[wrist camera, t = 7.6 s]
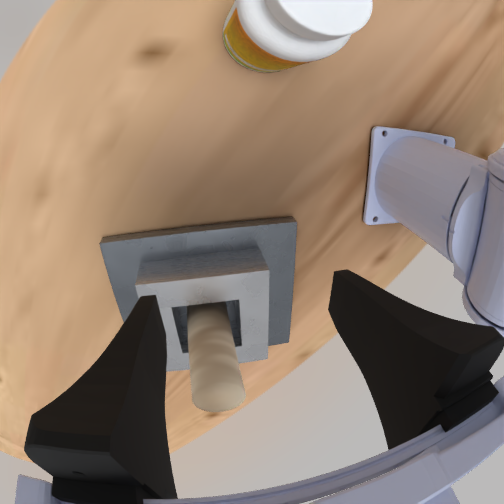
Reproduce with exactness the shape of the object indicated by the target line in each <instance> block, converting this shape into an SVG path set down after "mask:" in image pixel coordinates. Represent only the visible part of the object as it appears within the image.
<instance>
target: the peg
mask: <svg viewBox="0 0 504 504" xmlns="http://www.w3.org/2000/svg"><path fill="white" fill-rule="evenodd" d="M187 328H188V348H189V364H190V378H191V391H192V401H193V404H194V405H195V406H196V407H197V408H199V409H201V410H204V411H209V412H223V411H228V410H231V409H233V408H236V407H237V406H239V405H240V404H242V403H243V401H244V400H245V397H246V394H245V389H244V385H243V381H242V376H241V372H240V367H239V363H238V358H237V354H236V349H235V345H234V340H233V335H232V330H231V326H230V321H229V316H228V311H227V306H226V301H222V302H214V303H205V304H197V305H188V306H187Z"/></svg>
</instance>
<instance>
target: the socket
mask: <svg viewBox="0 0 504 504" xmlns="http://www.w3.org/2000/svg"><path fill="white" fill-rule="evenodd" d="M296 233H297V221H296V220H295V219H294V218H293V217H283V218H271V219H260V220H250V221H239V222H229V223H219V224H210V225H200V226H191V227H182V228H173V229H165V230H156V231H148V232H140V233H132V234H124V235H117V236H109V237H103V238H102V240H101V242H100V247H101V251H102V255H103V259H104V262H105V266H106V269H107V272H108V276H109V279H110V282H111V286H112V289H113V292H114V295H115V298H116V301H117V304H118V307H119V310H120V313H121V316H122V319H123V321H124V322H125V321H126V319H127V317H128V316H129V314H130V313H131V311H132V309H133V308H134V306H135V304H136V303H137V301H138V299H139V298H140V297H141V296H148V295H156V297H157V301H158V305H159V309H160V313H161V317H162V320H163V324H164V328H165V331H166V342H167V367H166V372H167V371H179V370H189V369H190V364H189V348H188V328H187V306H188V305H197V304H205V303H214V302H222V301H226V306H227V311H228V316H229V321H230V326H231V330H232V335H233V340H234V345H235V349H236V354H237V358H238V363H245V362H252V361H258V360H264V359H268V346H271V345H277V344H282V343H288V342H289V335H290V324H291V311H292V298H293V284H294V269H295V252H296Z"/></svg>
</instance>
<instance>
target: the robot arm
mask: <svg viewBox="0 0 504 504" xmlns="http://www.w3.org/2000/svg"><path fill="white" fill-rule="evenodd" d="M383 131H384V132H385V134H384V136H383V135H382V132H383ZM375 216H376V217H375ZM374 217H375V219H374V220H373V218H374ZM363 221H364V223H366V224H367V225H376V224H388V223H401V224H402V225H404V226H405V227H407V228H408V229H409V230H411V231H412V232H413V233H415V234H416V235H417V236H419V237H420V238H421V239H423V240H424V241H425V242H427V243H428V244H429V245H431V246H432V247H433V248H434V249H436V250H437V251H438V252H439V253H441V254H442V255H443V256H445V257H446V258H447V259H448V260H449V261H451V262H452V263H453V264H454V277H455V278H456V279H458V280H459V281H460V282H461V283H462V284H463V285H464V289H463V295H462V299H463V304H464V307H465V309H466V311H467V313H468V315H469V316H470V317H471V319H472V320H473V321H474V322H475V323H476V324H471V323H467V322H462V321H458V320H454V319H450V318H447V317H444V316H441V315H438V314H435V313H432V312H429V311H427V310H424V309H422V308H419V307H417V306H414V305H412V304H410V303H408V302H406V301H404V300H402V299H400V298H398V297H396V296H394V295H392V294H391V293H389V292H387V291H385V290H383V289H382V288H380V287H378V286H376V285H375V284H373V283H371V282H369V281H368V280H366V279H364V278H363V277H361V276H359V275H357V274H355V273H353V272H351V271H349V270H340V271H334V276H333V283H332V290H331V296H330V302H329V308H328V310H329V313H330V315H331V318H332V320H333V322H334V325H335V327H336V329H337V331H338V333H339V334H340V336H341V338H342V339H343V341H344V343H345V344H346V346H347V348H348V349H349V351H350V353H351V354H352V356H353V358H354V359H355V361H356V363H357V364H358V366H359V368H360V370H361V372H362V374H363V376H364V378H365V380H366V383H367V385H368V387H369V390H370V392H371V395H372V397H373V400H374V402H375V405H376V408H377V410H378V414H379V417H380V420H381V423H382V426H383V429H384V433H385V437H386V441H387V445H388V449H389V450H388V451H386V452H383V453H381V454H379V455H376V456H374V457H371V458H369V459H367V460H364V461H361V462H359V463H356V464H353V465H350V466H348V467H345V468H342V469H339V470H336V471H333V472H330V473H326V474H323V475H320V476H316V477H313V478H309V479H306V480H302V481H298V482H294V483H290V484H286V485H281V486H277V487H272V488H267V489H262V490H257V491H251V492H244V493H238V494H231V495H222V496H213V497H203V498H187V499H178V498H177V493H176V489H175V484H174V479H173V474H172V468H171V462H170V455H169V448H168V440H167V431H166V420H165V385H166V367H167V342H166V331H165V328H164V324H163V320H162V317H161V313H160V309H159V305H158V301H157V297H156V295H148V296H141V297H140V298H139V299H138V301H137V303H136V304H135V306H134V308H133V309H132V311H131V313H130V314H129V316H128V317H127V319H126V321H125V322H124V324H123V325H122V327H121V328H120V330H119V331H118V333H117V334H116V336H115V337H114V339H113V340H112V341H111V343H110V344H109V345H108V347H107V348H106V350H105V351H104V352H103V353H102V355H101V356H100V357H99V358H98V360H97V361H96V362H95V363H94V364H93V365H92V366H91V367H90V369H88V370H87V371H86V372H85V373H84V374H83V375H82V376H81V377H80V378H79V379H78V380H77V381H76V382H75V383H74V384H73V385H72V386H71V387H70V388H69V389H67V390H66V391H65V392H64V393H63V394H61V395H60V396H59V397H58V398H56V399H55V400H54V401H52V402H51V403H49V404H48V405H46V406H45V407H43V408H42V409H40V410H39V411H37V412H36V413H34V414H33V415H32V416H31V420H30V423H29V427H28V432H27V436H26V441H25V446H24V451H25V452H26V454H27V456H28V457H29V458H30V459H31V460H32V461H33V462H34V463H36V464H37V465H38V466H40V467H41V468H42V469H44V470H45V471H47V472H48V473H49V474H51V475H52V476H53V483H49V482H47V481H44V480H41V479H36V478H32V477H28V476H25V475H21V474H20V475H18V481H17V490H16V498H15V504H299V503H303V502H307V501H311V500H314V499H317V498H321V497H324V496H327V495H330V496H327V497H324V498H321V499H319V500H317V501H314V502H312V503H310V504H460V503H459V501H458V499H457V497H456V495H455V493H454V491H453V490H452V488H451V485H452V484H454V483H455V482H456V481H458V480H459V479H461V478H462V477H463V476H465V475H466V474H467V473H469V472H470V471H472V470H473V469H474V468H475V467H477V466H478V465H479V464H481V463H482V462H483V461H484V460H485V459H487V458H488V457H489V456H490V455H491V454H493V453H494V452H495V451H496V450H497V449H498V448H499V447H501V446H502V445H503V444H504V376H503V377H502V378H500V379H499V380H498V381H497V382H496V383H495V384H494V385H493V384H492V382H491V381H490V380H491V379H492V377H493V375H492V374H491V373H490V372H489V370H490V369H491V367H492V366H493V364H494V363H495V361H496V360H497V358H498V357H499V355H500V353H501V352H502V350H503V347H504V148H501V149H498V150H497V151H496V152H494V153H493V154H490V155H489V156H488V161H487V160H484V159H482V158H479V157H477V156H474V155H471V154H469V153H466V152H463V151H460V150H458V149H455V139H454V138H453V137H449V136H444V135H438V134H432V133H426V132H420V131H413V130H406V129H398V128H390V127H381V126H375V127H374V128H373V129H372V134H371V149H370V162H369V173H368V183H367V192H366V201H365V209H364V216H363ZM396 468H397V469H396ZM394 469H395V470H394ZM387 472H388V473H387ZM385 473H386V474H385ZM383 474H384V475H383ZM378 476H379V477H378ZM376 477H377V478H376ZM371 479H372V480H371ZM369 480H370V481H369ZM366 481H367V482H366ZM364 482H365V483H364ZM361 483H362V484H361ZM359 484H360V485H359ZM356 485H357V486H356ZM353 486H354V487H353ZM351 487H352V488H351ZM348 488H349V489H348ZM345 489H346V490H345ZM342 490H343V491H342ZM340 491H341V492H340ZM337 492H338V493H337ZM333 493H335V494H333ZM331 494H333V495H331Z"/></svg>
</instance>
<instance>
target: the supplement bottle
mask: <svg viewBox="0 0 504 504" xmlns="http://www.w3.org/2000/svg"><path fill="white" fill-rule="evenodd" d="M371 12H372V0H235V1H234V3H233V5H232V7H231V10H230V12H229V14H228V16H227V18H226V21H225V24H224V27H223V40H224V44H225V47H226V49H227V51H228V52H229V54H230V55H231V57H232V58H233V59H234V60H235V61H236V62H238V63H239V64H240V65H242V66H244V67H246V68H248V69H250V70H253V71H257V72H277V71H281V70H285V69H288V68H291V67H294V66H298V65H301V64H305V63H309V62H312V61H316V60H320V59H323V58H326V57H328V56H330V55H332V54H334V53H336V52H337V51H338V50H340V49H341V48H342V47H343V46H344V45H345V44H346V43H347V41H348V40H349V38H350V36H351V34H353V33H355V32H357V31H358V30H360V29H361V28H362V27H363V26H364V25H365V24H366V23H367V21H368V20H369V18H370V15H371Z"/></svg>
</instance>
